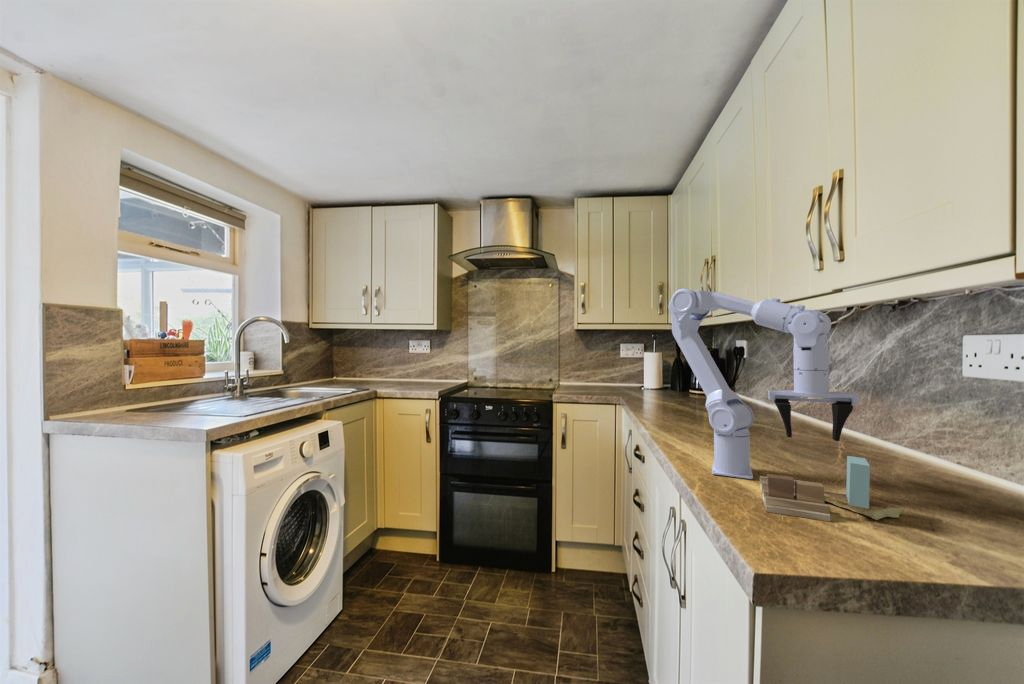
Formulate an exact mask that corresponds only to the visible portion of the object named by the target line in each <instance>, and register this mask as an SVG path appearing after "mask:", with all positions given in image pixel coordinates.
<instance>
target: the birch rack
mask: <svg viewBox="0 0 1024 684" xmlns="http://www.w3.org/2000/svg"><path fill="white" fill-rule="evenodd" d="M793 480H794V500H791V499H784V498H777V497H770V496H767V475H766V476H764V475H759V489H760V491H761V495H762V500H763V504H764V508H765V512H767V513H773V514H778V515H784V516H785V515H786V516H791V517H797V518H805V519H812V520H819V521H823V522H829V523H831V515H830V506H829V504H826V501H825V499H824V504H820V503H813V502H805V501H798V500H795V480H796V479H793ZM798 481H800V480H799V479H798ZM806 482H808V480H807V481H806Z"/></svg>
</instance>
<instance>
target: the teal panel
mask: <svg viewBox="0 0 1024 684" xmlns="http://www.w3.org/2000/svg"><path fill="white" fill-rule="evenodd" d="M870 474H871V465H870V463H869V462H868V460H867V459H866V458H864V457H859V456H858V457H857V456H851V455H847V457H846V483H845V485H846V486H845V487H846V488H845V489H846V490H845V495H846V496H847V499H848V502H849V505H852V506H857V507H862V508H867V509H869V499H870V483H871V481H870V479H871V477H870V476H871V475H870Z"/></svg>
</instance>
